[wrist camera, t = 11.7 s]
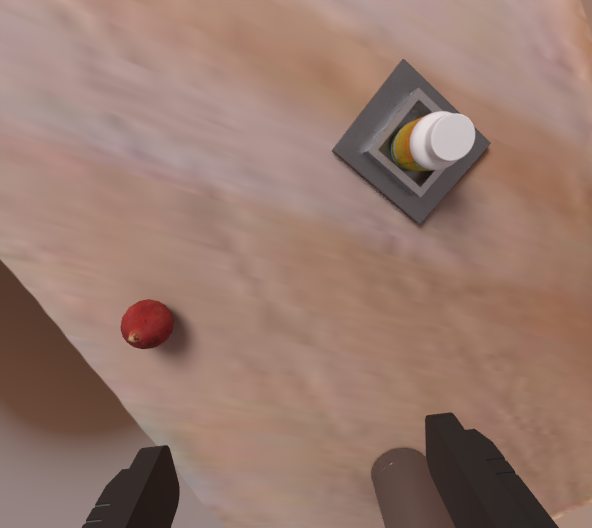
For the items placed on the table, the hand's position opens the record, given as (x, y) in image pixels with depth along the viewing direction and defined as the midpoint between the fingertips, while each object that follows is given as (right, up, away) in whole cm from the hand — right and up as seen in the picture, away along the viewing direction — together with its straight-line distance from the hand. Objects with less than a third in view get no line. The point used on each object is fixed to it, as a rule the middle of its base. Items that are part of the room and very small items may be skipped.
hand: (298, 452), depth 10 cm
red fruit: (-18, 0, +34) cm, 39 cm away
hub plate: (+13, +20, +29) cm, 38 cm away
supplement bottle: (+13, +19, +28) cm, 37 cm away
